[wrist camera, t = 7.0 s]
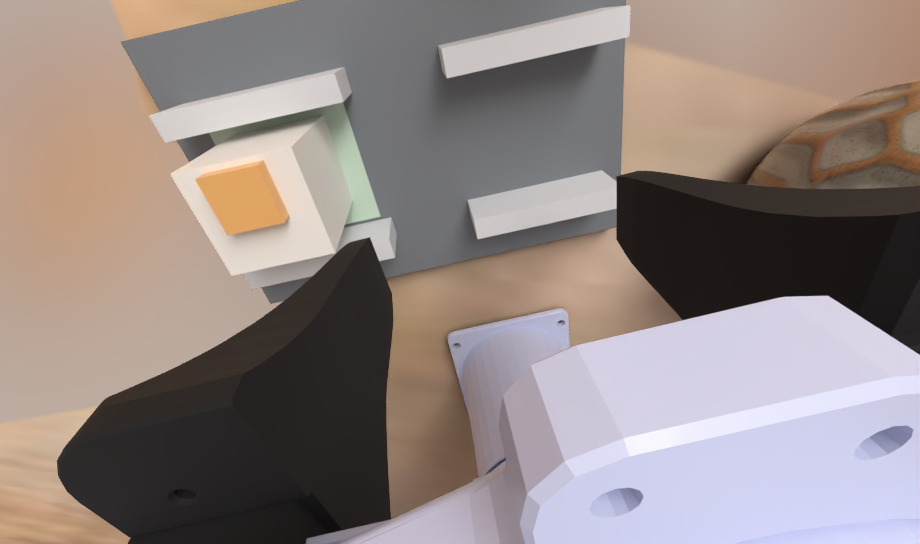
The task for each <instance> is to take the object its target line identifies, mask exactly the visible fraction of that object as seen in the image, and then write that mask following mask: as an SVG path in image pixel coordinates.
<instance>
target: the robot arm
mask: <svg viewBox="0 0 920 544" xmlns="http://www.w3.org/2000/svg"><path fill="white" fill-rule="evenodd" d="M616 183H617V241H618V242H619V244H620V246H621V247H622V249H623V251H624V252H625V254H626V255H627V257H628V258H629V260H630V261H631V263H632V264H633V265H634V266H635V268H636V269H637V270H638V271H639V272H640V273H641V274H642V275H643V277H644V278H645V279H646V280H647V281H648V282H649V283H650V284H651V285H652V286H653V288H654V289H655V290H656V291H657V292H658V293H659V294H660V295H661V296H662V297H663V298H664V300H665V301H666V302H667V303H668V304H669V305H670V306H671V307H672V308H673V309H674V310H675V311H676V313H677V314H678V315H679V316H680V317H681V318H682V321H677V322H673V323H669V324H665V325H660V326H656V327H652V328H648V329H643V330H639V331H635V332H631V333H626V334H622V335H618V336H614V337H609V338H605V339H601V340H597V341H592V342H588V343H584V344H580V345H575V346H572V347H570V341H569V323H568V314H567V312H566V310H565V309H563V308H558V309H553V310H549V311H544V312H539V313H535V314H530V315H526V316H521V317H517V318H512V319H507V320H503V321H498V322H494V323H489V324H485V325H480V326H476V327H471V328H466V329H462V330H457V331H453V332H450V333H449V334H448V336H447V339H448V344H449V348H450V351H451V355H452V358H453V362H454V365H455V369H456V373H457V376H458V380H459V383H460V387H461V390H462V394H463V397H464V401H465V404H466V408H467V411H468V415H469V418H470V423H471V430H472V437H473V443H474V450H475V457H476V463H477V470H478V478H475V479H473V482H470V483H468V484H466V485H464V486H462V487H460V488H457V489H455V490H453V491H451V492H449V493H447V494H444V495H442V496H440V497H438V498H436V499H434V500H431V501H429V502H427V503H425V504H423V505H421V506H418V507H416V508H414V509H412V510H410V511H408V512H405V513H403V514H401V515H399V516H397V517H395V518H392V519H391V514H390V498H389V480H388V461H387V432H386V390H387V377H388V368H389V359H390V349H391V340H392V329H393V305H392V293H391V290H390V288H389V285H388V283H387V280H386V278H385V275H384V272H383V270H382V267H381V265H380V262H379V259H378V257H377V254H376V252H375V249H374V247H373V244H372V241H371V239H370V237H369V238H365V239H361V240H357V241H352V242H349V243H348V244H346V245H345V246H344V247H342V248H341V249H340V250H339V251H338V252H337V253H336V254H335V255H334V256H333V257H332V258H331V259H330V260H329V261H328V262H327V263H326V264H325V265H324V266H323V267H322V268H321V269H319V270H318V271H317V272H316V273H315V274H314V275H313V276H312V277H311V278H310V279H309V280H308V281H307V282H306V283H304V284H303V285H302V286H301V287H300V288H299V289H298V290H297V291H295V292H294V293H293V294H292V295H291V296H290V297H289V298H287V299H286V300H285V301H284V302H282V303H281V304H280V305H278V306H277V307H276V308H275V309H273V310H272V311H270V312H269V313H268V314H266V315H265V316H264V317H262V318H261V319H259V320H258V321H256V322H255V323H254V324H252V325H250V326H249V327H247V328H245V329H244V330H242V331H241V332H239V333H237V334H236V335H234V336H233V337H231V338H229V339H228V340H227V341H224V342H223V343H221V344H219V345H218V346H216V347H214V348H212V349H210V350H208V351H207V352H205V353H203V354H201V355H199V356H197V357H195V358H193V359H192V360H189V361H188V362H185V363H183V364H182V365H180V366H177V367H175V368H173V369H171V370H169V371H167V372H165V373H163V374H161V375H158V376H156V377H154V378H151V379H149V380H147V381H145V382H142V383H140V384H138V385H135V386H133V387H131V388H129V389H127V390H124V391H122V392H119V393H117V394H115V395H112V396H110V397H108V398H106V399H105V400H104V401H103V402H102V403H101V404H100V405H99V406H98V407H97V409H96V410H95V411H94V412H93V414H92V415H91V416H90V417H89V418H88V420H87V421H86V422H85V423H84V424H83V426H82V427H81V428H80V429H79V431H78V432H77V433H76V434H75V435H74V437H73V438H72V439H71V440H70V441H69V443H68V444H67V445H66V446H65V447H64V449H63V451H62V453H61V455H60V456H59V458H58V460H57V468H58V476H59V478H60V480H61V482H62V484H63V485H64V487H65V489H66V490H67V492H68V493H69V494H71V495H72V496H73V497H74V498H75V499H76V500H77V501H78V502H80V503H81V504H82V505H84V506H85V507H87V508H88V509H90V510H91V511H92V512H94V513H95V514H97V515H98V516H100V517H101V518H103V519H104V520H105V521H107V522H108V523H110V524H111V525H113V526H114V527H115V528H117V529H118V530H120V531H121V532H123V533H124V534H126V535H127V536H128V537H131V539H130V540H129V542H128V544H920V186H908V187H893V188H868V189H801V188H782V187H766V186H754V185H745V184H737V183H728V182H721V181H713V180H707V179H700V178H694V177H688V176H681V175H675V174H669V173H661V172H653V171H636V172H632V173H628V174H624V175H620V176H616ZM560 320H563V321H562V322H560V323H558V322H559V321H560ZM455 343H459V344H458V345H454V344H455Z"/></svg>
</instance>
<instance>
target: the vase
mask: <svg viewBox="0 0 920 544" xmlns="http://www.w3.org/2000/svg"><path fill="white" fill-rule="evenodd" d="M745 185H754V186H766V187H782V188H801V189H868V188H893V187H908V186H920V79H916V80H912V81H907V82H903V83H900V84H896V85H891V86H888V87H884V88H880V89H877V90H874V91H871V92H868V93H865V94H863V95H860V96H857V97H855V98H853V99H850V100H848V101H845V102H843V103H841V104H838V105H836V106H834V107H832V108H830V109H828V110H826V111H824V112H822V113H820V114H819V115H817V116H815V117H813V118H812V119H810V120H809V121H807V122H805V123H804V124H802V125H801V126H800V127H798V128H797V129H796V130H794V131H793V132H792V133H790V134H789V135H788V136H787V137H785V138H784V139H783V140H782V141H781V142H779V143H778V144H777V145H776V146H775V147H774V148H773V149H772V150H771V151H770V152H769V153H768V154H767V155H766V156H765V157H764V159H763V160H762V161H761V162H760V163H759V165H758V166H757V167H756V168H755V170H754V171H753V173H752V174H751V176H750V178H749V179H748V181H747V183H746V184H745Z"/></svg>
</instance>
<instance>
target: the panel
mask: <svg viewBox="0 0 920 544" xmlns="http://www.w3.org/2000/svg"><path fill="white" fill-rule="evenodd" d="M630 7H631V6H630V5H627V6H626V0H299V1H295V2H291V3H286V4H282V5H278V6H273V7H269V8H265V9H260V10H256V11H252V12H247V13H243V14H239V15H234V16H230V17H226V18H222V19H217V20H213V21H209V22H204V23H200V24H196V25H191V26H187V27H183V28H178V29H174V30H170V31H165V32H161V33H157V34H153V35H148V36H144V37H140V38H135V39H131V40H127V41H123V42H121V44H122V45H123V47H124V49H125V51H126V52H127V54H128V56H129V58H130V59H131V61H132V63H133V65H134V66H135V68H136V70H137V72H138V73H139V75H140V77H141V79H142V80H143V82H144V84H145V85H146V87H147V89H148V91H149V92H150V94H151V96H152V98H153V99H154V101H155V103H156V105H157V106H158V108H159V110H160V112H158V113H155V114H152V115H149V117H150V118H151V120H152V122H153V123H154V125H155V127H156V128H157V130H158V132H159V134H160V135H161V137H162V139H163V140H164V142H165V143H166V142H170V141H175V140H177V141H178V143H179V145H180V147H181V148H182V150H183V152H184V153H185V155H186V157H187V159H188V160H189V162H191V161H192V160H194V159H195V158H197V157H199V156H200V155H202V154H203V153H205V152H207V151H208V150H210V149H212V148H213V147H215V146H216V145H218V144H220V143H221V142H223V141H225V140H226V139H228V138H229V137H231V136H233V135H234V134H238V133H243V132H247V131H252V130H256V129H261V128H265V127H270V126H274V125H279V124H283V123H288V122H292V121H296V120H301V119H305V118H310V117H314V116H319V115H324V118H325V121H326V124H327V126H328V129H329V132H330V135H331V138H332V140H333V143H334V146H335V149H336V152H337V154H338V157H339V160H340V163H341V166H342V168H343V171H344V174H345V177H346V179H347V182H348V185H349V188H350V191H351V193H352V196H353V202H352V205H351V208H350V211H349V214H348V217H347V220H346V223H345V226H344V229H343V232H342V235H341V238H340V241H339V244H338V247H337V250H336V253H337V252H338V251H339V250H340V249H341V248H342V247H344V246H345V245H346V244H348V243H349V242H352V241H357V240H361V239H365V238H369V237H370V239H371V241H372V244H373V247H374V249H375V252H376V254H377V257H378V259H379V262H380V265H381V267H382V270H383V272H384V275H385V278H389V277H394V276H398V275H403V274H407V273H412V272H416V271H421V270H425V269H430V268H434V267H439V266H443V265H448V264H452V263H457V262H461V261H466V260H471V259H475V258H480V257H484V256H489V255H493V254H498V253H502V252H507V251H511V250H516V249H520V248H525V247H529V246H534V245H538V244H543V243H547V242H552V241H556V240H561V239H565V238H570V237H574V236H579V235H583V234H588V233H592V232H597V231H602V230H606V229H611V228H615V227H617V183H616V176H620V175H621V147H622V115H623V82H624V50H625V38H627V37H629V35H630V33H629V32H630ZM336 253H334V254H329V255H325V256H320V257H315V258H311V259H306V260H302V261H297V262H293V263H288V264H283V265H279V266H274V267H270V268H265V269H261V270H256V271H252V272H247V273H242V274H243V275H244V277H245V279H246V281H247V282H248V284H249V286H250V287H251V289H257V288H262V289H263V291H264V293H265V294H266V296H267V298H268V300H269V302H270V303H271V304H272V303H276V302H281V301H285V300H286V299H287V298H289V297H290V296H291V295H292V294H293V293H294V292H295V291H297V290H298V289H299V288H300V287H301V286H302V285H303V284H304V283H306V282H307V281H308V280H309V279H310V278H311V277H312V276H313V275H314V274H315V273H316V272H317V271H318V270H319V269H321V268H322V267H323V266H324V265H325V264H326V263H327V262H328V261H329V260H330V259H331V258H332V257H333V256H334V255H335V254H336Z"/></svg>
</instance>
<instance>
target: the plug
mask: <svg viewBox="0 0 920 544" xmlns="http://www.w3.org/2000/svg"><path fill="white" fill-rule="evenodd" d="M170 175H171V176H172V178H173V180H174V181H175V183H176V185H177V186H178V188H179V189H180V191H181V193H182V195H183V196H184V198H185V200H186V201H187V203H188V204H189V206H190V208H191V209H192V211H193V213H194V214H195V216H196V218H197V219H198V221H199V223H200V224H201V226H202V227H203V229H204V231H205V232H206V234H207V236H208V237H209V239H210V241H211V242H212V244H213V246H214V247H215V249H216V251H217V252H218V254H219V255H220V257H221V258H222V260H223V262H224V264H225V265H226V267H227V269H228V270H229V272H230V273H231V275H232V276H233V275H238V274H242V273H247V272H252V271H256V270H261V269H265V268H270V267H274V266H279V265H283V264H288V263H293V262H297V261H302V260H306V259H311V258H315V257H320V256H325V255H329V254H334V253H336V250H337V247H338V244H339V241H340V238H341V235H342V232H343V229H344V226H345V223H346V220H347V217H348V214H349V211H350V208H351V205H352V202H353V196H352V193H351V191H350V188H349V185H348V182H347V179H346V177H345V174H344V171H343V168H342V166H341V163H340V160H339V157H338V154H337V152H336V149H335V146H334V143H333V140H332V138H331V135H330V132H329V129H328V126H327V124H326V121H325V118H324V115H319V116H314V117H310V118H305V119H301V120H296V121H292V122H288V123H283V124H279V125H274V126H270V127H265V128H261V129H256V130H252V131H247V132H243V133H238V134H234V135H233V136H231V137H229V138H228V139H226V140H225V141H223V142H221V143H220V144H218V145H216V146H215V147H213V148H212V149H210V150H208V151H207V152H205V153H203V154H202V155H200V156H199V157H197V158H195V159H194V160H192V161H191V162H189V163H188V164H186V165H184V166H182V167H181V168H179V169H178V170H176V171H174V172H173V173H171V174H170Z"/></svg>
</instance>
